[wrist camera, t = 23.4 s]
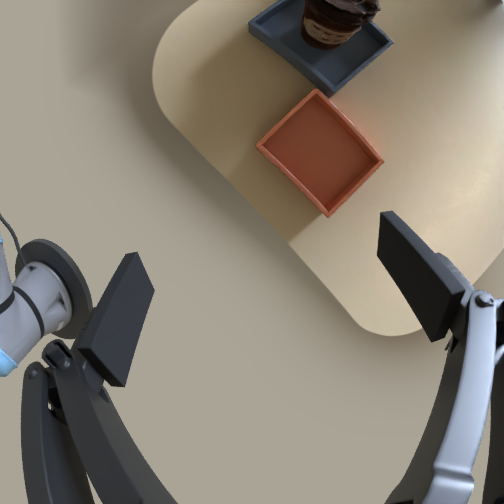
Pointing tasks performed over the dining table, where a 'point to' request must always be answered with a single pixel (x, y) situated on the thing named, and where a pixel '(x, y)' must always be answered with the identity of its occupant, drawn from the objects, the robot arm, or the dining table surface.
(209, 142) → the dining table surface
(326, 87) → the slate tray
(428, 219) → the dining table surface
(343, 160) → the terracotta tray
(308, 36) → the labeled brown jar
